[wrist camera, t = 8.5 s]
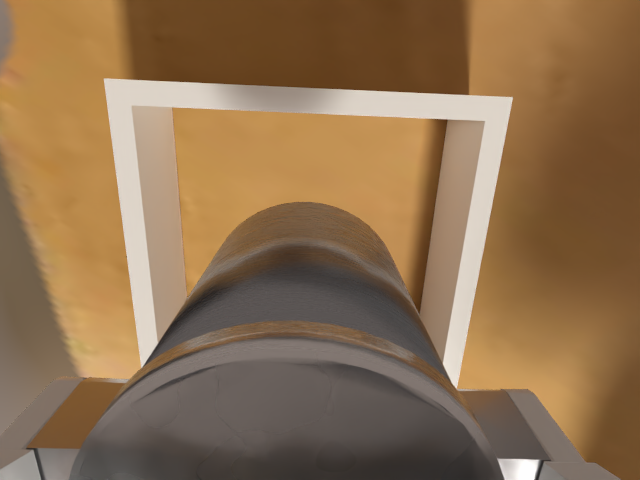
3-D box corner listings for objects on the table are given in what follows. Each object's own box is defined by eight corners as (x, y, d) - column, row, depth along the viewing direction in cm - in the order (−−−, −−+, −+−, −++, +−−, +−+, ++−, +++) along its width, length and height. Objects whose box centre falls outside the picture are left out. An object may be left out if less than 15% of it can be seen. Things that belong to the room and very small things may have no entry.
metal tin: (388, 377, 13) (463, 665, 6) (209, 368, 13) (95, 656, 6) (413, 205, 11) (560, 363, 4) (203, 192, 11) (27, 336, 4)
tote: (414, 440, 29) (434, 506, 25) (184, 435, 29) (158, 500, 24) (469, 97, 21) (512, 97, 17) (151, 83, 21) (103, 78, 16)
